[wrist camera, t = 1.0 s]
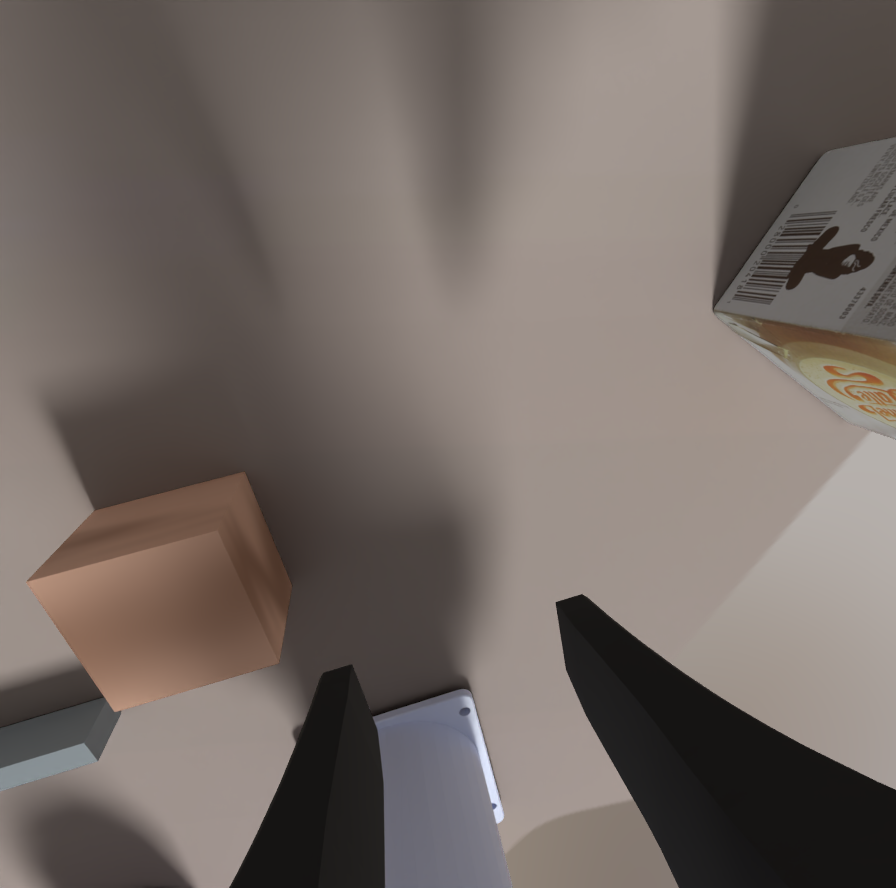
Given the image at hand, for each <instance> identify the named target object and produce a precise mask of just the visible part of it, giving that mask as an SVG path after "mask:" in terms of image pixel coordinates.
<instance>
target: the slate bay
mask: <svg viewBox="0 0 896 888" xmlns="http://www.w3.org/2000/svg"><path fill="white" fill-rule="evenodd" d="M120 715H121V712H120V711H118V712H114V710H113V709H112V707H111V706H110V705H109V703H108V702H107V700H106V699H105V697H103V698H100V699H97V700H93V701H90V702H87V703H83V704H80V705H76V706H73V707H70V708H66V709H63V710H60V711H56V712H53V713H50V714H46V715H43V716H39V717H36V718H33V719H29V720H26V721H23V722H19V723H16V724H13V725H9V726H6V727H2V728H0V791H3V790H6V789H9V788H13V787H16V786H19V785H22V784H26V783H29V782H32V781H35V780H39V779H42V778H45V777H48V776H52V775H55V774H58V773H61V772H65V771H68V770H71V769H74V768H78V767H81V766H84V765H87V764H91V763H94V762H97V761H98V760H99V758H100V756H101V754H102V752H103V750H104V748H105V746H106V744H107V741H108V739H109V737H110V735H111V733H112V731H113V729H114V727H115V725H116V723H117V721H118V719H119V717H120Z"/></svg>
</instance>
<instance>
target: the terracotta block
mask: <svg viewBox="0 0 896 888" xmlns="http://www.w3.org/2000/svg"><path fill="white" fill-rule="evenodd" d="M26 583H27V584H28V586H29V587H30V589H31V590H32V592H33V593H34V595H35V596H36V598H37V599H38V601H39V602H40V603H41V605H42V606H43V608H44V609H45V611H46V612H47V614H48V615H49V617H50V618H51V620H52V621H53V623H54V624H55V625H56V627H57V628H58V630H59V631H60V633H61V634H62V636H63V637H64V639H65V640H66V642H67V643H68V644H69V646H70V647H71V649H72V650H73V652H74V653H75V655H76V656H77V658H78V659H79V661H80V662H81V664H82V665H83V666H84V668H85V669H86V671H87V672H88V674H89V675H90V677H91V678H92V680H93V681H94V683H95V684H96V685H97V687H98V688H99V690H100V691H101V693H102V694H103V696H104V697H105V699H106V700H107V702H108V703H109V705H110V706H111V707H112V709H113V710H114V712H118V711H121V710H124V709H128V708H131V707H134V706H138V705H141V704H145V703H148V702H151V701H155V700H158V699H161V698H165V697H168V696H171V695H175V694H178V693H182V692H185V691H188V690H192V689H195V688H198V687H202V686H205V685H208V684H212V683H215V682H219V681H222V680H225V679H229V678H232V677H235V676H239V675H242V674H246V673H249V672H252V671H256V670H259V669H262V668H266V667H269V666H272V665H276V664H279V662H280V656H281V650H282V644H283V638H284V632H285V626H286V620H287V614H288V608H289V602H290V596H291V590H292V584H291V582H290V579H289V577H288V575H287V572H286V570H285V567H284V565H283V563H282V560H281V558H280V555H279V553H278V551H277V548H276V546H275V543H274V541H273V538H272V536H271V534H270V531H269V529H268V526H267V524H266V522H265V519H264V517H263V514H262V512H261V510H260V507H259V505H258V502H257V500H256V498H255V495H254V493H253V490H252V488H251V486H250V483H249V481H248V478H247V476H246V474H245V471H244V472H240V473H237V474H233V475H229V476H225V477H221V478H217V479H214V480H210V481H206V482H202V483H198V484H194V485H191V486H187V487H183V488H179V489H175V490H171V491H168V492H164V493H160V494H156V495H152V496H148V497H145V498H141V499H137V500H133V501H129V502H125V503H122V504H118V505H114V506H110V507H106V508H102V509H99V510H95V511H94V512H93V513H92V514H91V515H90V516H89V517H88V518H87V519H86V520H85V521H84V522H83V523H82V524H81V525H80V526H79V527H78V528H77V529H76V530H75V532H74V533H73V534H72V535H71V536H70V537H69V538H68V539H67V540H66V541H65V542H64V543H63V544H62V545H61V546H60V547H59V548H58V549H57V550H56V551H55V552H54V553H53V554H52V555H51V557H50V558H49V559H48V560H47V561H46V562H45V563H44V564H43V565H42V566H41V567H40V568H39V569H38V570H37V571H36V572H35V573H34V574H33V575H32V576H31V577H30V578H29V579H28V580H27V582H26Z"/></svg>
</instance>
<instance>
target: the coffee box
mask: <svg viewBox="0 0 896 888" xmlns="http://www.w3.org/2000/svg"><path fill="white" fill-rule="evenodd" d="M714 314H715V315H716V316H717V317H718V318H719V319H720V320H721V321H722V322H724V323H725V324H726V325H727V326H728V327H730V328H731V329H732V330H733V331H734V332H735V333H737V334H738V335H739V336H740V337H742V338H743V339H744V340H745V341H747V342H748V343H749V344H750V345H752V346H753V347H754V348H755V349H757V350H758V351H759V352H760V353H762V354H763V355H764V356H765V357H767V358H768V359H769V360H770V361H772V362H773V363H774V364H775V365H777V366H778V367H779V368H780V369H781V370H783V371H784V372H785V373H787V374H788V375H789V376H790V377H792V378H793V379H794V380H795V381H796V382H798V383H799V384H800V385H801V386H803V387H804V388H805V389H806V390H808V391H809V392H810V393H811V394H813V395H814V396H815V397H816V398H818V399H819V400H820V401H822V402H823V403H824V404H825V405H827V406H828V407H829V408H830V409H832V410H833V411H834V412H835V413H837V414H838V415H839V416H840V417H842V418H843V419H844V420H845V421H847V422H848V423H849V424H852V425H855V426H858V427H861V428H864V429H867V430H869V431H872V432H875V433H878V434H881V435H884V436H887V437H890V438H893V439H895V440H896V137H892V138H888V139H883V140H877V141H872V142H867V143H863V144H857V145H853V146H848V147H843V148H839V149H833V150H830V151H827V152H826V153H825V154H823V155H822V156H821V158H820V159H819V160H818V162H817V163H816V164H815V166H814V167H813V168H812V170H811V171H810V173H809V174H808V175H807V177H806V178H805V180H804V181H803V183H802V184H801V185H800V187H799V188H798V190H797V191H796V193H795V194H794V195H793V197H792V198H791V200H790V201H789V202H788V204H787V205H786V207H785V208H784V209H783V211H782V212H781V214H780V215H779V216H778V218H777V219H776V221H775V222H774V224H773V225H772V226H771V228H770V229H769V231H768V232H767V233H766V235H765V236H764V238H763V239H762V241H761V242H760V243H759V245H758V246H757V248H756V249H755V250H754V252H753V253H752V255H751V256H750V258H749V259H748V260H747V262H746V263H745V265H744V266H743V268H742V269H741V270H740V272H739V273H738V275H737V276H736V278H735V279H734V280H733V282H732V283H731V285H730V286H729V287H728V289H727V290H726V292H725V293H724V295H723V296H722V297H721V299H720V300H719V302H718V303H717V304H716V306H715V308H714Z"/></svg>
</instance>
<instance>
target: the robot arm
mask: <svg viewBox="0 0 896 888" xmlns="http://www.w3.org/2000/svg"><path fill="white" fill-rule="evenodd" d="M556 608H557V615H558V621H559V627H560V634H561V640H562V646H563V653H564V659H565V666H566V671H567V673H568V675H569V677H570V680H571V682H572V684H573V687H574V689H575V691H576V694H577V696H578V698H579V700H580V703H581V705H582V707H583V709H584V712H585V714H586V716H587V718H588V720H589V721H590V723H591V725H592V727H593V729H594V730H595V732H596V734H597V736H598V737H599V739H600V741H601V743H602V745H603V746H604V748H605V750H606V752H607V753H608V755H609V757H610V759H611V760H612V762H613V764H614V766H615V767H616V769H617V771H618V773H619V774H620V776H621V778H622V780H623V782H624V783H625V785H626V787H627V789H628V790H629V792H630V794H631V796H632V797H633V799H634V801H635V802H636V804H637V806H638V808H639V809H640V811H641V813H642V815H643V816H644V818H645V820H646V822H647V824H648V826H649V828H650V829H651V831H652V833H653V835H654V837H655V839H656V841H657V843H658V845H659V847H660V848H661V850H662V853H663V855H664V857H665V859H666V861H667V863H668V865H669V867H670V869H671V872H672V874H673V876H674V878H675V880H676V882H677V884H678V887H679V888H896V790H895V789H893V788H890V787H888V786H886V785H884V784H881V783H879V782H877V781H875V780H873V779H871V778H869V777H867V776H865V775H863V774H860V773H859V772H857V771H855V770H852V769H851V768H849V767H846V766H844V765H842V764H840V763H838V762H836V761H834V760H832V759H830V758H828V757H826V756H824V755H822V754H820V753H818V752H816V751H814V750H812V749H810V748H808V747H806V746H804V745H802V744H800V743H798V742H797V741H795V740H793V739H791V738H789V737H788V736H786V735H784V734H782V733H780V732H778V731H776V730H775V729H773V728H771V727H769V726H767V725H766V724H764V723H762V722H761V721H759V720H757V719H756V718H754V717H752V716H751V715H749V714H747V713H745V712H744V711H742V710H740V709H738V708H737V707H735V706H734V705H732V704H730V703H729V702H727V701H726V700H724V699H722V698H721V697H719V696H718V695H716V694H715V693H713V692H711V691H710V690H709V689H707V688H706V687H704V686H702V685H701V684H700V683H698V682H697V681H695V680H693V679H692V678H691V677H689V676H688V675H686V674H685V673H683V672H682V671H680V670H679V669H678V668H676V667H675V666H673V665H672V664H670V663H669V662H668V661H666V660H665V659H664V658H662V657H661V656H660V655H658V654H657V653H656V652H654V651H653V650H652V649H650V648H649V647H647V646H646V645H645V644H643V643H642V642H641V641H640V640H638V639H637V638H636V637H634V636H633V635H632V634H631V633H629V632H628V631H627V630H626V629H624V628H623V627H622V626H621V625H619V624H618V623H617V622H616V621H614V620H613V619H612V618H611V617H610V616H608V615H607V614H606V613H605V612H604V611H603V610H601V609H600V608H599V607H598V606H597V605H596V604H594V603H593V602H592V601H591V600H590V599H589V598H588V597H586V596H584V595H582V594H581V595H578V596H574V597H571V598H568V599H565V600H561V601H558V602H556ZM465 707H466V708H465ZM462 708H463V709H462ZM503 818H504V812H503V808H502V805H501V801H500V797H499V793H498V790H497V786H496V782H495V779H494V775H493V771H492V768H491V764H490V760H489V756H488V753H487V749H486V745H485V742H484V738H483V734H482V731H481V727H480V723H479V719H478V716H477V712H476V708H475V705H474V701H473V697H472V694H471V692H470V691H469V690H466V689H459V690H456V691H453V692H450V693H446V694H443V695H440V696H437V697H434V698H430V699H427V700H424V701H421V702H418V703H415V704H411V705H408V706H405V707H402V708H399V709H396V710H392V711H389V712H386V713H383V714H380V715H376V716H373V717H372V714H371V712H370V709H369V707H368V704H367V701H366V699H365V696H364V694H363V691H362V689H361V686H360V684H359V681H358V679H357V676H356V674H355V671H354V668H353V666H352V664H351V665H348V666H345V667H341V668H338V669H335V670H332V671H328V672H325V673H323V675H322V676H321V678H320V680H319V683H318V686H317V689H316V692H315V694H314V697H313V700H312V703H311V706H310V709H309V712H308V714H307V717H306V720H305V722H304V725H303V728H302V730H301V733H300V736H299V738H298V741H297V743H296V746H295V748H294V751H293V753H292V755H291V758H290V760H289V763H288V765H287V768H286V770H285V773H284V775H283V777H282V780H281V782H280V784H279V787H278V789H277V791H276V793H275V796H274V798H273V800H272V802H271V804H270V806H269V809H268V811H267V813H266V815H265V817H264V819H263V822H262V824H261V826H260V828H259V830H258V832H257V835H256V837H255V839H254V841H253V843H252V845H251V847H250V849H249V851H248V853H247V855H246V857H245V859H244V861H243V863H242V865H241V867H240V868H239V870H238V872H237V874H236V876H235V878H234V880H233V882H232V884H231V886H230V887H229V888H513V886H512V882H511V878H510V874H509V870H508V866H507V862H506V859H505V855H504V851H503V847H502V843H501V839H500V835H499V831H498V827H497V824H498V823H500V822H501V821H502V820H503Z"/></svg>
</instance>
